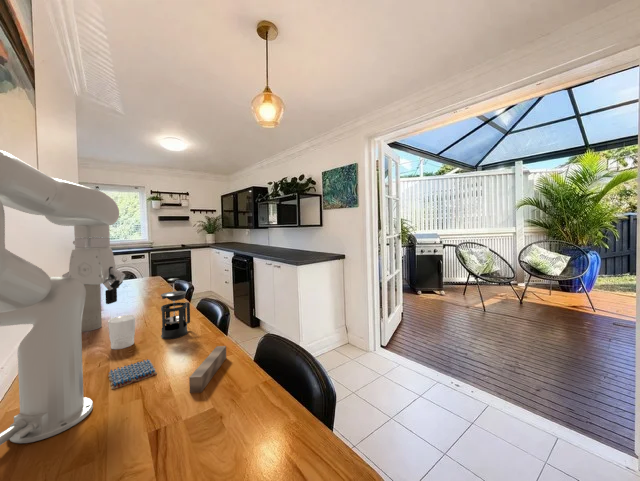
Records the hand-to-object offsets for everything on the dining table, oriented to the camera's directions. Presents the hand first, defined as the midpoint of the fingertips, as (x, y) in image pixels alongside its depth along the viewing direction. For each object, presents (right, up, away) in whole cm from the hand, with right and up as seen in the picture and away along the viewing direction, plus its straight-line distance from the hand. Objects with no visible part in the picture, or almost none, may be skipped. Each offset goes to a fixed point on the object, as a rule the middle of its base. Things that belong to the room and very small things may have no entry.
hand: (94, 303), depth 73 cm
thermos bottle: (-36, -21, +37) cm, 56 cm away
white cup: (-8, -21, +20) cm, 30 cm away
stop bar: (+33, -21, +1) cm, 39 cm away
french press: (+6, -20, +30) cm, 37 cm away
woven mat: (+11, -22, 0) cm, 24 cm away
